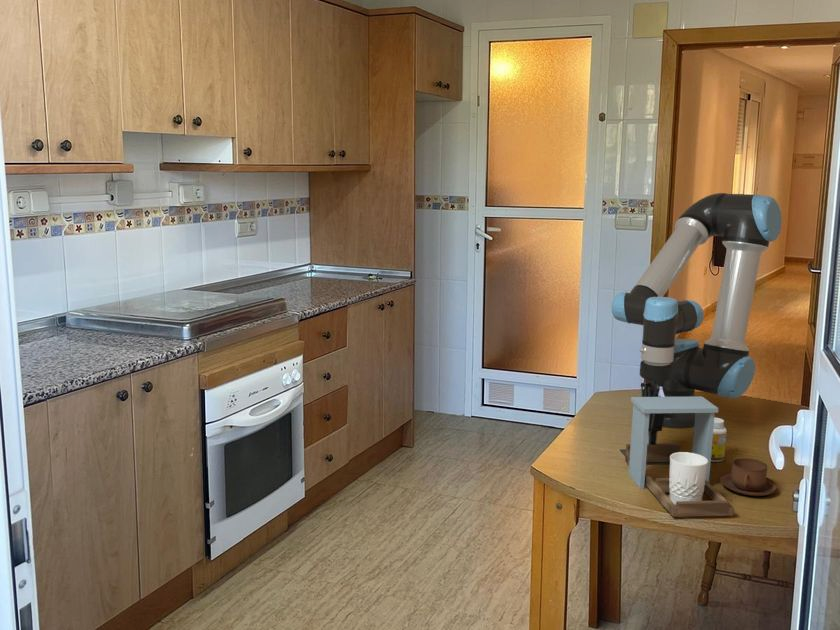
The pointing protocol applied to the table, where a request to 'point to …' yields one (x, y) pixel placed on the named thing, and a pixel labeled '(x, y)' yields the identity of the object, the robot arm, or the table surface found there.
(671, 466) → the white cup
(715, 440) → the supplement bottle
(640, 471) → the tunnel
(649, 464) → the pit mat
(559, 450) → the table surface
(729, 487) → the cup and saucer
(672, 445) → the wooden serving tray
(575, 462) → the table surface
